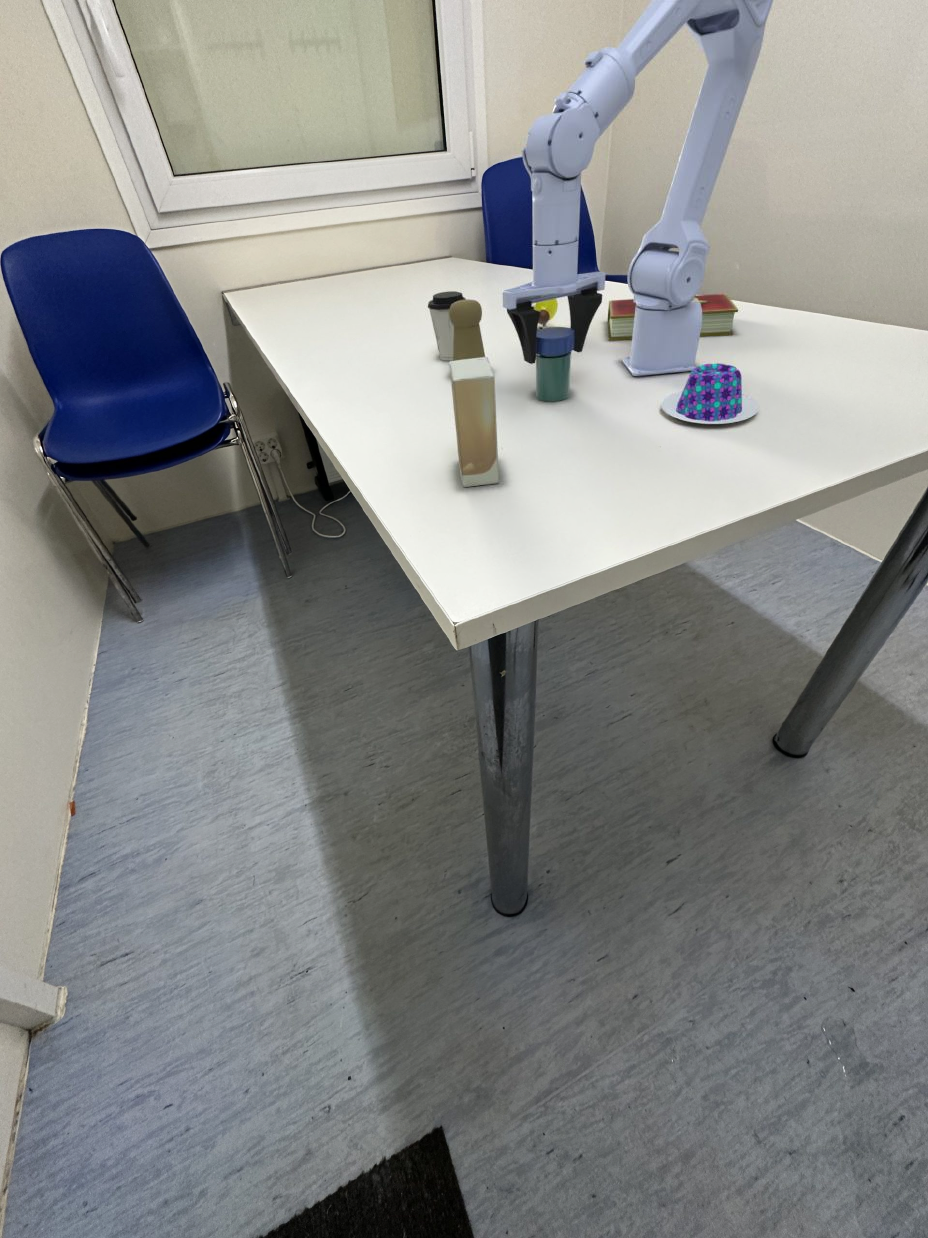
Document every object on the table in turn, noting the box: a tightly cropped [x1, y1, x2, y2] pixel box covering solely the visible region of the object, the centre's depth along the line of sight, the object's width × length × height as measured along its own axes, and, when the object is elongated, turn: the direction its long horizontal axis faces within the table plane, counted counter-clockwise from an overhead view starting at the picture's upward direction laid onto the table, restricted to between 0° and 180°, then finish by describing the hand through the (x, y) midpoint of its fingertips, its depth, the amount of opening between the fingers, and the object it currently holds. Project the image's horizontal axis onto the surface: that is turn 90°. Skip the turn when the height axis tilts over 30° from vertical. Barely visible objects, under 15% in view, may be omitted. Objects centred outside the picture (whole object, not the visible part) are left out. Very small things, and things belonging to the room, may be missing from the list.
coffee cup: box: [427, 290, 467, 362], centre depth 96 cm, size 7×7×10 cm
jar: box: [535, 351, 572, 403], centre depth 79 cm, size 5×5×8 cm
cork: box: [449, 298, 486, 361], centre depth 88 cm, size 6×6×11 cm
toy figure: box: [532, 298, 559, 330], centre depth 105 cm, size 18×6×7 cm, turn 172°
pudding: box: [660, 362, 760, 425], centre depth 70 cm, size 12×12×5 cm
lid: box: [536, 326, 575, 356], centre depth 76 cm, size 6×6×2 cm
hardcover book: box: [606, 293, 739, 341], centre depth 100 cm, size 12×21×4 cm, turn 80°
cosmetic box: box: [449, 356, 500, 488], centre depth 61 cm, size 6×4×12 cm
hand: (553, 356), depth 78 cm, fingers open, 7 cm apart
